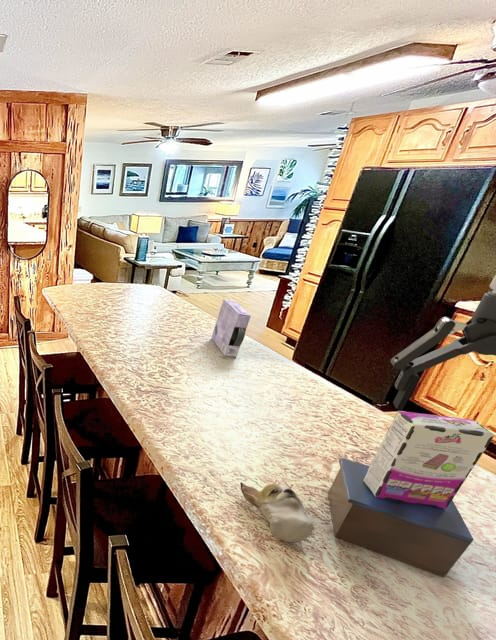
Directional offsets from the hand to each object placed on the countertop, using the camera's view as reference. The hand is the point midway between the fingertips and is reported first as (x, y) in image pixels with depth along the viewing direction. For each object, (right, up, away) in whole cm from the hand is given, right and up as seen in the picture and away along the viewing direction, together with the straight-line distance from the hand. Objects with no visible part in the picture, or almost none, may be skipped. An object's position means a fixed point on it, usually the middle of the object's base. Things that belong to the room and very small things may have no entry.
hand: (450, 418), depth 65 cm
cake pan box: (+11, +14, +91) cm, 93 cm away
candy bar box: (-1, -16, +8) cm, 17 cm away
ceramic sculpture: (-20, -23, +14) cm, 34 cm away
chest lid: (-1, -16, +8) cm, 18 cm away
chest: (-1, -24, +12) cm, 27 cm away
